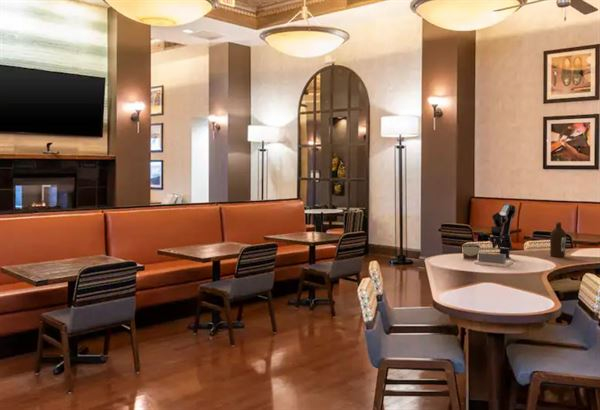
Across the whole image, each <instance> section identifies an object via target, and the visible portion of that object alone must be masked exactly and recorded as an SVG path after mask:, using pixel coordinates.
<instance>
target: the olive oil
mask: <svg viewBox="0 0 600 410" xmlns="http://www.w3.org/2000/svg"><path fill="white" fill-rule="evenodd" d="M549 235H550V236H549V241H550V243H549V244H550V249H549V251H550V253H549V255H550V257H552V258H565V257H566V255H565V252H566V243H567V242H566V241H567V232H566V231H565V230H564V229H563V228H562V222H561V221H556V223H555V228H554V229H552V231H551V232H550V234H549Z"/></svg>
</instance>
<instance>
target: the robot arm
mask: <svg viewBox="0 0 600 410" xmlns="http://www.w3.org/2000/svg"><path fill="white" fill-rule="evenodd" d="M517 212H518V211H517V207H516V206H515V205H512V204H511V203H504V204H503V207H502V209H501V211H500V212H496V213H494V214H493V215H492V217H491V218H492V222H493V225H494V226H491V228H490V232H491V233H490V235H489V233H487V232H486V233H485V232H482V233H481V234H480V237H481V240H482V241H483V242H488V241H490V243H491V245H492V249H495V248H496V247H497V249H498V250H499V254H506V260H508V259H512V257H511V256H510V251H512V250H513V244H512V237H511V235H510V232H511V227H512V221H513V219H514V217H515V216H516V213H517Z"/></svg>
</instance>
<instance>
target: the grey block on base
mask: <svg viewBox="0 0 600 410" xmlns="http://www.w3.org/2000/svg"><path fill="white" fill-rule="evenodd" d="M488 253H489V252H486V251H485V252H484V251H481V252H478V259H476V260H475V261H474V264H476V265H484V266H493V267H494V266H495V267H503V266H504V268H505V267H508V266H510V265H511V264H513V263H514V261H513V260H510V259H509V260H508V259H506V254H500V253H497V254H488Z"/></svg>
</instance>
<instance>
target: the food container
mask: <svg viewBox="0 0 600 410" xmlns="http://www.w3.org/2000/svg"><path fill="white" fill-rule="evenodd" d="M461 248H462V254H463V255H462V256H463V260H478V256H479V253H480V252H479V250H480V248H481V246H480V244H477V243H463V244H462V245H461Z"/></svg>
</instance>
